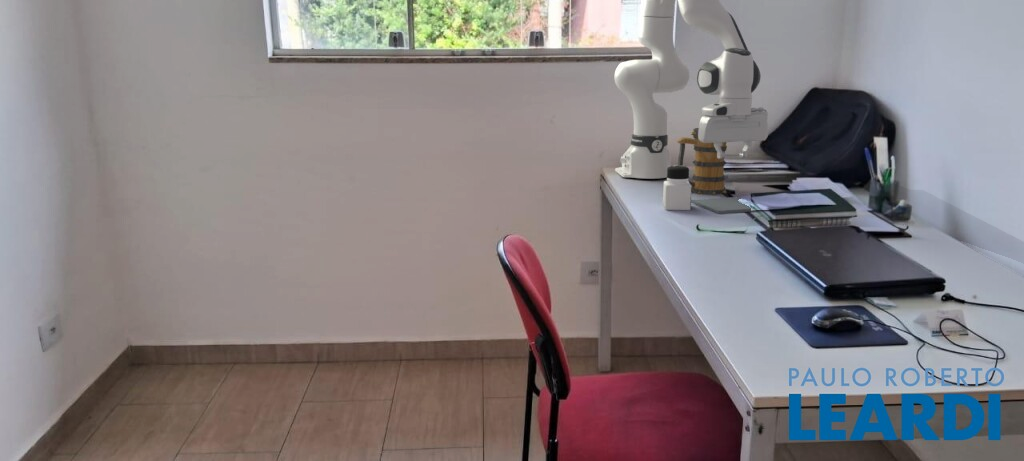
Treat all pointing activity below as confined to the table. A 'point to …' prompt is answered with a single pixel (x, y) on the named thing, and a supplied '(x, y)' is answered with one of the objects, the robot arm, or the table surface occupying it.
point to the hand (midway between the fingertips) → (732, 157)
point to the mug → (705, 165)
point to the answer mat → (722, 205)
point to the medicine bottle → (677, 189)
